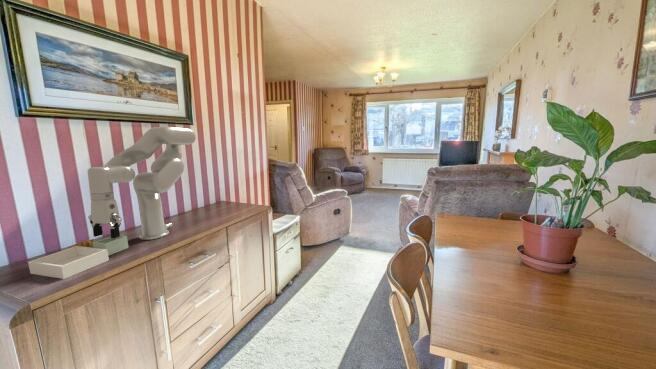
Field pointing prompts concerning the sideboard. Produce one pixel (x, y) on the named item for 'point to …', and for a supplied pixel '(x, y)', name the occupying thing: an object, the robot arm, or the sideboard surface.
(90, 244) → the pastry
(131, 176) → the robot arm
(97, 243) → the small crate
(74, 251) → the big crate
